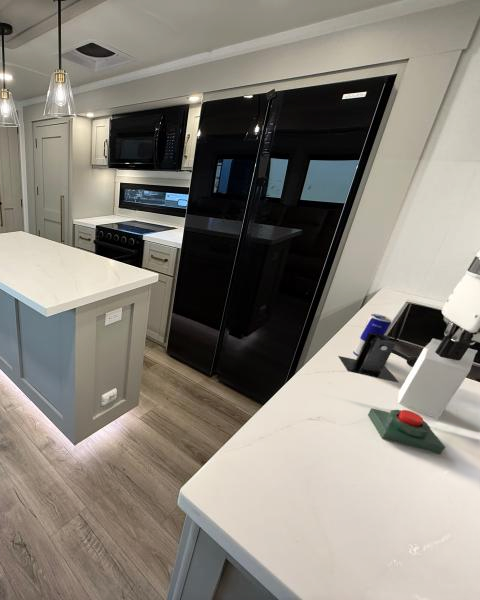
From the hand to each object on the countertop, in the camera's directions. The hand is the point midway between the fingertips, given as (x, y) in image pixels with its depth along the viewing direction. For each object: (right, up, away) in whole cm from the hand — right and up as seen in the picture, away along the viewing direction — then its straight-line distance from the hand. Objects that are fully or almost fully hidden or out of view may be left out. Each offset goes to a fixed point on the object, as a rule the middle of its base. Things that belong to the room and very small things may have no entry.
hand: (447, 356), depth 63 cm
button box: (-1, -19, +8) cm, 21 cm away
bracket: (+12, -10, +31) cm, 34 cm away
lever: (+16, -5, +27) cm, 31 cm away
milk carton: (+12, -16, +17) cm, 26 cm away
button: (0, -16, +7) cm, 17 cm away
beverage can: (+17, -8, +38) cm, 42 cm away
